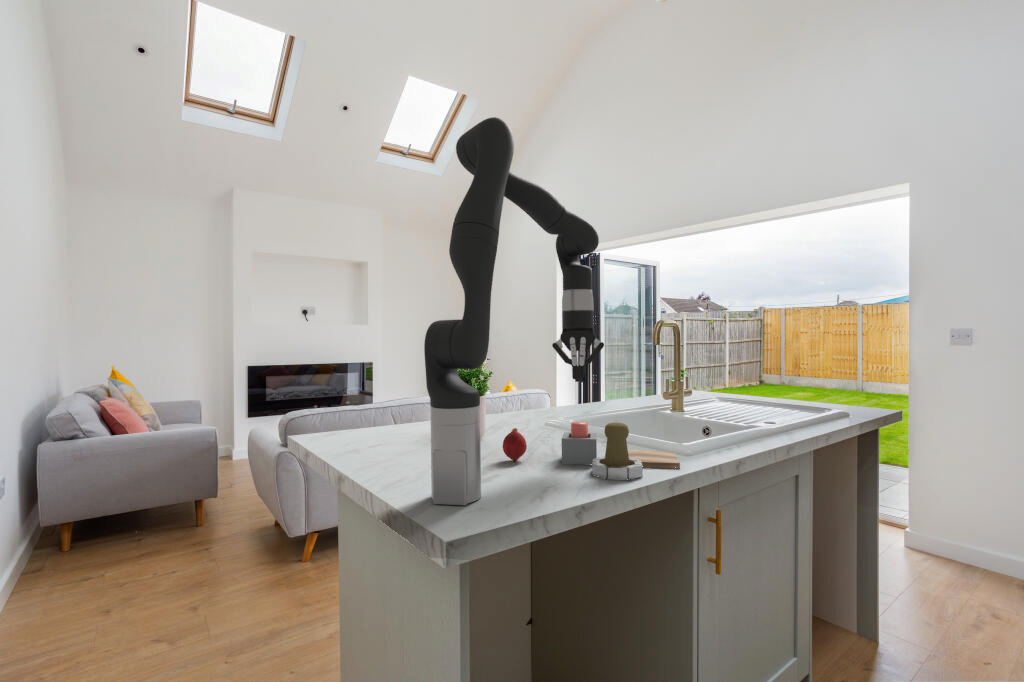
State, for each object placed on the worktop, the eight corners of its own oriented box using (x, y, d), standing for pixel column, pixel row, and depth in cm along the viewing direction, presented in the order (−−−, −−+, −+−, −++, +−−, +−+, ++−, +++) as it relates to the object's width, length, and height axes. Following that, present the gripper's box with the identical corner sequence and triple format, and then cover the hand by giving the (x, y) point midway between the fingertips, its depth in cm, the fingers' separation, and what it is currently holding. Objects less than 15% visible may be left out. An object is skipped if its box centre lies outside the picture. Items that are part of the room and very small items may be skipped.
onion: (522, 464, 118) (522, 430, 118) (499, 463, 120) (498, 429, 120) (529, 459, 124) (529, 426, 123) (507, 457, 125) (507, 425, 125)
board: (679, 468, 113) (679, 463, 113) (625, 466, 115) (625, 461, 115) (672, 456, 125) (672, 451, 125) (623, 454, 127) (623, 449, 127)
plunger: (587, 450, 119) (587, 424, 119) (570, 449, 120) (570, 424, 120) (588, 446, 123) (588, 422, 123) (571, 446, 124) (571, 421, 124)
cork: (600, 475, 108) (600, 424, 108) (605, 468, 113) (604, 420, 113) (629, 478, 106) (628, 426, 106) (632, 471, 111) (632, 421, 111)
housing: (596, 465, 117) (596, 439, 117) (561, 464, 118) (561, 438, 118) (596, 457, 125) (596, 432, 125) (564, 456, 126) (564, 432, 126)
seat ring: (643, 481, 103) (643, 468, 103) (592, 479, 105) (591, 467, 105) (640, 468, 114) (639, 456, 114) (593, 466, 116) (592, 455, 116)
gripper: (548, 309, 119) (549, 382, 119) (605, 308, 116) (606, 383, 116) (551, 310, 126) (552, 380, 126) (605, 309, 124) (606, 380, 124)
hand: (578, 381), depth 121 cm, fingers closed
